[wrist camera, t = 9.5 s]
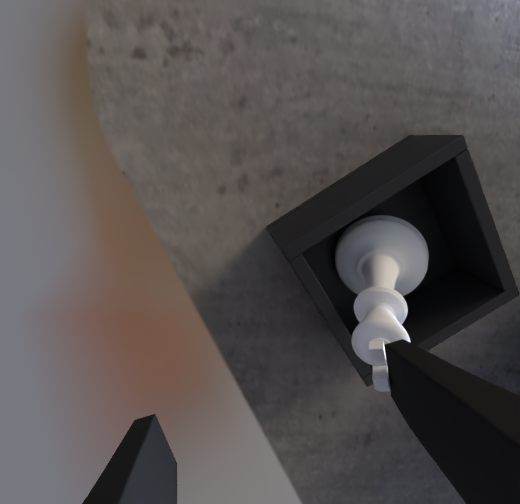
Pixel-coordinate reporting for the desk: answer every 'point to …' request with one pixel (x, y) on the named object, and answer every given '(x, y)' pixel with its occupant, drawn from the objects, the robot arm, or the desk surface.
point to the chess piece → (380, 283)
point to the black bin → (425, 221)
